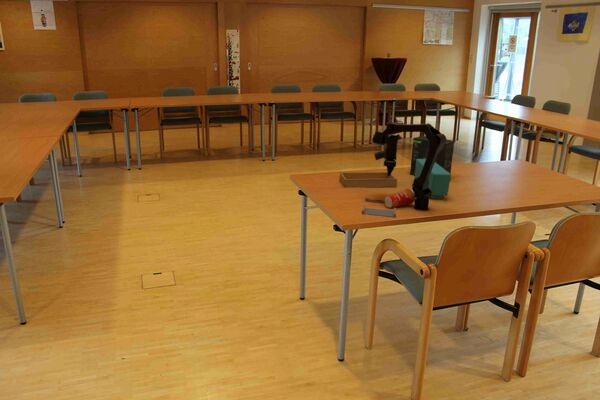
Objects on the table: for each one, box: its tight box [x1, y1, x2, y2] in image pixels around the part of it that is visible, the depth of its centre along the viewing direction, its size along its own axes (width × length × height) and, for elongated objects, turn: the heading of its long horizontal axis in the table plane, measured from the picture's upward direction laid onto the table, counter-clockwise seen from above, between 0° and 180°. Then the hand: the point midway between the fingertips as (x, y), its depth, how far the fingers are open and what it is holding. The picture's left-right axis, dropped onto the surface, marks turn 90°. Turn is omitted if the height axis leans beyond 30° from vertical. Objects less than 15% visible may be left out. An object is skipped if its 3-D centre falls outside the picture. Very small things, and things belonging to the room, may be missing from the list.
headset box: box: [409, 135, 455, 177], centre depth 321 cm, size 22×12×26 cm, turn 49°
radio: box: [414, 159, 452, 200], centre depth 292 cm, size 34×10×15 cm, turn 4°
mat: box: [361, 204, 397, 218], centre depth 255 cm, size 16×9×2 cm, turn 79°
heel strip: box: [364, 197, 385, 204], centre depth 271 cm, size 16×2×2 cm, turn 79°
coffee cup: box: [384, 188, 415, 209], centre depth 266 cm, size 8×8×15 cm
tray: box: [339, 171, 398, 188], centre depth 304 cm, size 31×15×6 cm, turn 97°
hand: (388, 175), depth 273 cm, fingers closed
